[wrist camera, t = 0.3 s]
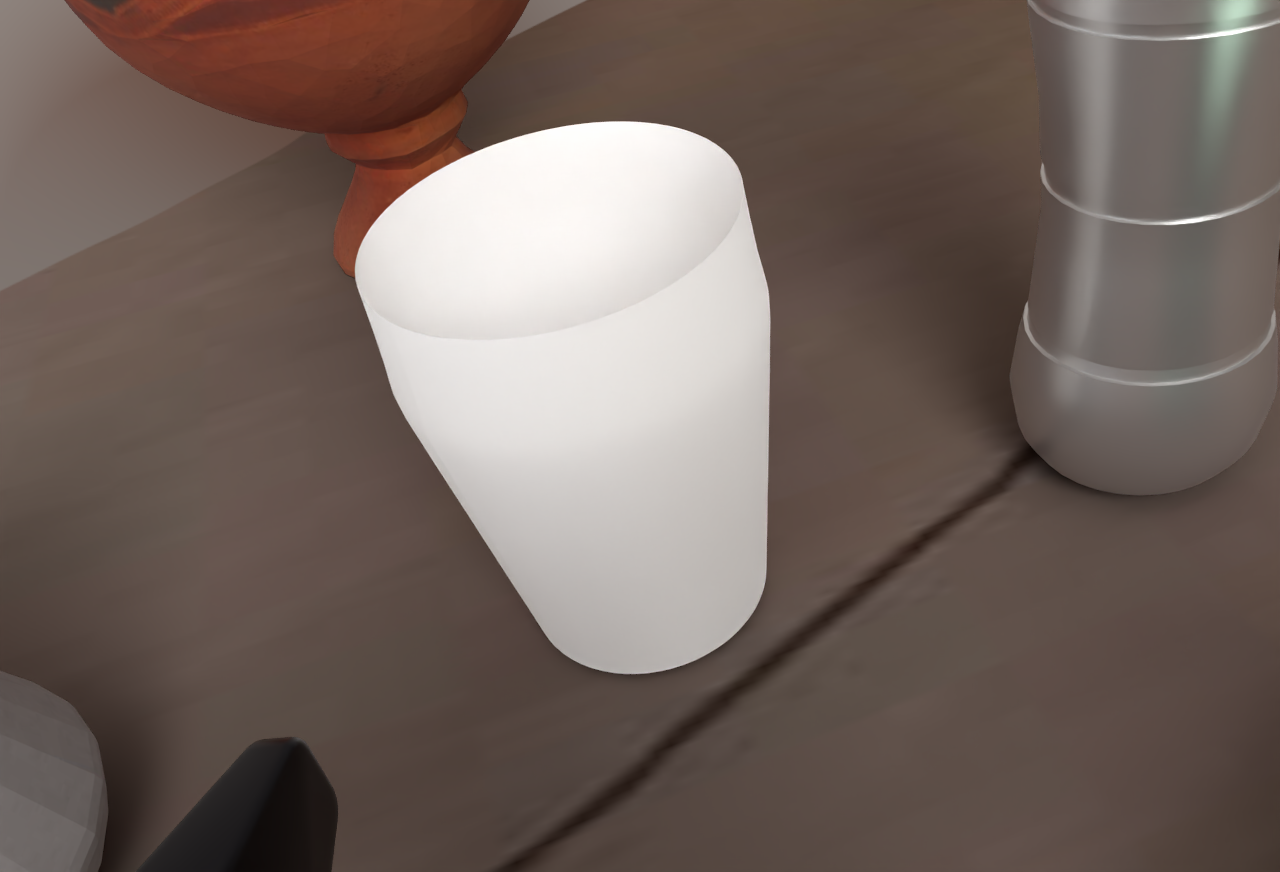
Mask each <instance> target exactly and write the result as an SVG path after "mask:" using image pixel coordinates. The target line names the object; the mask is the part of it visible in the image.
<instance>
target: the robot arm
mask: <svg viewBox="0 0 1280 872" xmlns="http://www.w3.org/2000/svg"><path fill="white" fill-rule="evenodd" d="M337 821H338V804H337V798H336V794H335V791H334V789H333V787H332V785H331V784H330V782H329V780H328V778H327V777H326V775H325V773H324V772H323V770H322V768H321V767H320V765H319V763H318V761H317V760H316V758H315V756H314V755H313V753H312V751H311V750H310V748H309V746H308V745H307V743H306V742H305V741H303V740H302V739H300V738H298V737H285V738H272V739H263V740H259V741H256V742H254V743H253V744H252V745H250V746H249V747H248V748H247V749H246V750H245V751H244V752H243V753H242V754H241V755H240V756H239V757H238V759H237V760H236V761H235V762H234V763H233V764H232V765H231V766H230V767H229V769H228V770H227V771H226V772H225V773H224V774H223V775H222V776H221V777H220V779H219V780H218V781H217V782H216V783H215V784H214V785H213V786H212V787H211V789H210V790H209V791H208V792H207V793H206V794H205V795H204V796H203V797H202V799H201V800H200V801H199V802H198V803H197V804H196V805H195V806H194V807H193V809H192V810H191V811H190V812H189V813H188V814H187V815H186V816H185V817H184V819H183V820H182V821H181V822H180V823H179V824H178V825H177V826H176V827H175V829H174V830H173V831H172V832H171V833H170V834H169V835H168V836H167V837H166V839H165V840H164V841H163V842H162V843H161V844H160V845H159V846H158V847H157V849H156V850H155V851H154V852H153V853H152V854H151V855H150V856H149V857H148V859H147V860H146V861H145V862H144V863H143V864H142V865H141V866H140V867H139V869H138V870H137V871H136V872H331V870H332V862H333V854H334V845H335V837H336V829H337Z"/></svg>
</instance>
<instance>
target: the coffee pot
mask: <svg viewBox="0 0 1280 872" xmlns="http://www.w3.org/2000/svg"><path fill="white" fill-rule="evenodd" d="M107 820H108V800H107V787H106V782H105V777H104V771H103V766H102V761H101V755H100V750H99V745H98V743H97V740H96V738H95V736H94V735H93V733H92V732H91V730H90V729H89V728H88V726H87V725H86V723H85V722H84V720H83V719H82V718H81V716H80V715H79V713H78V712H77V710H76V709H75V708H74V706H73V705H71V704H70V703H69V702H67V701H66V700H64V699H62V698H60V697H58V696H57V695H55V694H53V693H51V692H50V691H48V690H46V689H44V688H43V687H41V686H39V685H37V684H36V683H34V682H32V681H29V680H26V679H23V678H20V677H17V676H14V675H11V674H8V673H5V672H3V671H0V872H98V870H99V867H100V865H101V862H102V855H103V848H104V841H105V834H106V827H107Z"/></svg>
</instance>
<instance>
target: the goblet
mask: <svg viewBox="0 0 1280 872" xmlns="http://www.w3.org/2000/svg"><path fill="white" fill-rule="evenodd" d="M65 1H66V3H67V4H68V5H69V7H70V8H71V9H72V11H73V12H74V13H75V14H76V15H77V16H78V17H79V18H80V19H81V20H82V21H83V23H85V25H86V26H87V27H88V28H89V29H90V30H91V31H92V32H93V33H94V34H95V35H96V36H97V37H98V38H99V39H100V40H101V41H102V42H103V43H104V44H105V45H106V47H108V48H109V49H110V50H112V51H113V52H114V53H116V54H117V55H118V56H119V57H121V58H122V59H123V60H125V61H126V62H127V63H129V64H130V65H131V66H132V67H134V68H135V69H137V70H138V71H140V72H141V73H143V74H145V75H146V76H148V77H150V78H152V79H153V80H155V81H157V82H158V83H160V84H162V85H164V86H165V87H167V88H169V89H171V90H173V91H175V92H178V93H180V94H182V95H184V96H186V97H188V98H191V99H193V100H195V101H197V102H200V103H202V104H205V105H207V106H210V107H212V108H215V109H218V110H221V111H223V112H226V113H229V114H232V115H235V116H238V117H242V118H245V119H248V120H251V121H255V122H259V123H264V124H268V125H272V126H276V127H281V128H287V129H291V130H298V131H305V132H313V133H324V134H325V137H326V141H327V144H328V146H329V148H330V149H331V151H332V152H334V153H336V154H338V155H340V156H342V157H344V158H346V159H348V160H350V161H352V162H354V163H356V169H355V172H354V175H353V180H352V182H351V185H350V187H349V190H348V193H347V195H346V198H345V201H344V203H343V206H342V208H341V211H340V214H339V216H338V220H337V224H336V227H335V231H334V257H335V258H336V260H337V262H338V263H339V265H340V266H341V268H342V269H343V271H344V272H345V274H347V275H349V276H352V277H354V278H355V263H356V258H357V254H358V250H359V248H360V246H361V243H362V241H363V239H364V237H365V236H366V234H367V232H368V231H369V229H370V228H371V226H372V225H373V224H374V222H375V221H376V220H377V219H378V218H379V216H380V215H381V214H382V213H383V212H384V211H385V210H386V209H387V208H388V207H389V206H390V205H391V204H392V203H393V202H394V201H395V200H396V199H398V198H399V197H400V196H401V195H403V194H404V193H405V192H406V191H408V190H409V189H410V188H412V187H413V186H414V185H416V184H417V183H419V182H420V181H422V180H423V179H425V178H426V177H428V176H430V175H431V174H433V173H434V172H436V171H438V170H440V169H442V168H443V167H445V166H447V165H449V164H451V163H453V162H455V161H457V160H459V159H461V158H463V157H465V156H468V155H470V154H472V153H474V151H472V150H471V149H469V148H468V147H466V146H465V145H464V144H463V143H462V142H461V141H460V140H459V139H458V138H457V137H456V134H457V132H458V130H459V128H460V125H461V123H462V121H463V118H464V116H465V114H466V112H467V106H468V102H467V100H466V98H465V96H464V94H463V92H462V90H461V89H462V88H463V86H464V85H465V84H466V83H467V82H468V81H469V80H470V79H471V78H472V77H473V76H474V75H475V74H476V73H477V72H478V71H479V70H480V69H481V68H482V67H483V66H484V65H485V64H486V63H487V61H488V60H489V59H490V58H491V57H492V56H493V54H494V53H495V52H496V51H497V50H498V48H499V47H500V46H501V45H502V44H503V42H504V41H505V40H506V38H507V37H508V35H509V34H510V32H511V31H512V29H513V28H514V27H515V25H516V23H517V22H518V20H519V18H520V17H521V15H522V14H523V12H524V10H525V8H526V6H527V4H528V2H529V0H65Z"/></svg>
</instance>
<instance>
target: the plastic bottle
mask: <svg viewBox="0 0 1280 872" xmlns="http://www.w3.org/2000/svg"><path fill="white" fill-rule="evenodd" d="M1027 7H1028V15H1029V23H1030V31H1031V39H1032V46H1033V54H1034V62H1035V70H1036V78H1037V86H1038V93H1039V129H1040V154H1041V159H1042V166H1041V171H1040V175H1041V210H1040V218H1039V225H1038V233H1037V240H1036V247H1035V255H1034V262H1033V269H1032V277H1031V284H1030V291H1029V299H1028V301H1027V303H1026V305H1025V308H1024V312H1023V315H1022V318H1021V321H1020V324H1019V329H1018V334H1017V339H1016V344H1015V349H1014V354H1013V360H1012V365H1011V370H1010V375H1009V378H1010V385H1011V392H1012V397H1013V401H1014V406H1015V411H1016V416H1017V421H1018V426H1019V428H1020V430H1021V432H1022V434H1023V436H1024V438H1025V440H1026V441H1027V442H1028V443H1029V445H1030V446H1031V447H1032V448H1033V449H1034V450H1035V452H1036V453H1037V454H1038V455H1039V456H1040V457H1041V458H1042V459H1044V460H1045V461H1046V462H1047V463H1048V464H1049V465H1050V466H1051V467H1052V468H1054V469H1055V470H1056V471H1058V472H1059V473H1060V474H1062V475H1063V476H1065V477H1067V478H1069V479H1071V480H1073V481H1075V482H1077V483H1079V484H1082V485H1084V486H1087V487H1090V488H1093V489H1096V490H1100V491H1105V492H1110V493H1115V494H1124V495H1137V496H1140V495H1160V494H1166V493H1172V492H1177V491H1181V490H1184V489H1187V488H1191V487H1194V486H1197V485H1199V484H1201V483H1203V482H1205V481H1207V480H1209V479H1210V478H1212V477H1214V476H1216V475H1217V474H1219V473H1220V472H1222V471H1224V470H1225V469H1227V468H1228V467H1230V466H1231V465H1233V464H1234V463H1235V462H1236V461H1238V460H1239V459H1240V458H1241V457H1243V456H1244V455H1245V454H1246V453H1247V451H1248V450H1249V449H1250V447H1251V446H1252V445H1253V443H1254V442H1255V440H1256V438H1257V436H1258V434H1259V432H1260V430H1261V427H1262V425H1263V423H1264V421H1265V419H1266V417H1267V415H1268V412H1269V410H1270V408H1271V406H1272V404H1273V401H1274V397H1275V394H1276V391H1277V374H1278V334H1277V324H1276V314H1275V310H1274V301H1275V289H1276V277H1277V264H1278V252H1279V240H1280V0H1027Z"/></svg>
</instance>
